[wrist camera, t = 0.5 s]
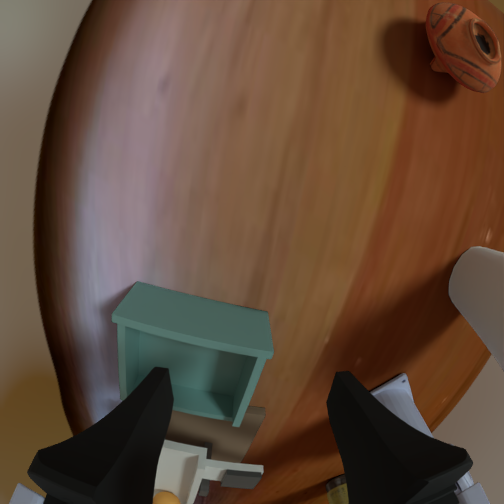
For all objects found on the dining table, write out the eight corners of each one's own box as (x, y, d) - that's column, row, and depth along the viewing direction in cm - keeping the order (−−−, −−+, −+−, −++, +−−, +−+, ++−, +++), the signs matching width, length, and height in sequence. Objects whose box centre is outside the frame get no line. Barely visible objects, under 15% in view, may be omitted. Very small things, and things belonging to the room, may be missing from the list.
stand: (230, 474, 30) (230, 518, 23) (139, 456, 29) (127, 499, 21) (264, 407, 25) (270, 471, 18) (134, 380, 23) (110, 439, 16)
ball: (187, 496, 21) (185, 517, 18) (167, 497, 21) (164, 517, 18) (168, 486, 20) (165, 509, 17) (149, 487, 20) (144, 508, 18)
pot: (474, 38, 13) (522, 39, 8) (461, 101, 17) (511, 115, 12) (409, -7, 12) (454, -24, 7) (395, 61, 16) (442, 57, 11)
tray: (232, 495, 25) (231, 523, 21) (149, 480, 24) (143, 508, 20) (268, 437, 21) (271, 480, 16) (146, 415, 20) (134, 457, 15)
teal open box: (238, 398, 24) (237, 439, 20) (133, 374, 23) (117, 412, 18) (267, 311, 21) (273, 352, 16) (137, 281, 20) (111, 314, 15)
